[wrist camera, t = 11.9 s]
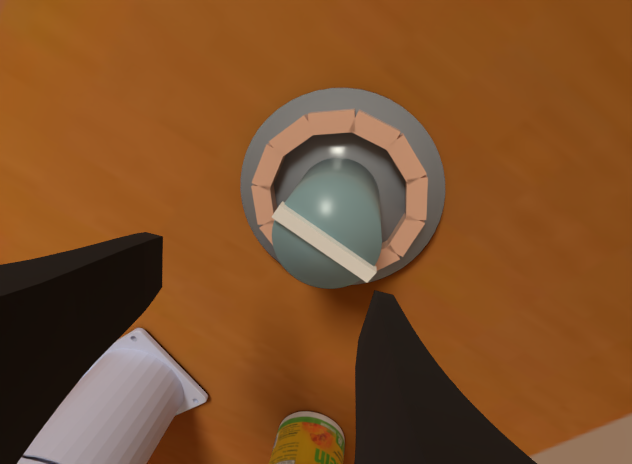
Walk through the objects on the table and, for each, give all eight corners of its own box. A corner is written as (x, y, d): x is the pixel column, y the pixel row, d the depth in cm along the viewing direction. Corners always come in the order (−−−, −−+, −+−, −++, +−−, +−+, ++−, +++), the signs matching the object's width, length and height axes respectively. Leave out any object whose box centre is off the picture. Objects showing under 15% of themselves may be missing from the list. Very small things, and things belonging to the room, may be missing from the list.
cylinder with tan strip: (398, 191, 18) (408, 237, 13) (348, 250, 20) (339, 312, 15) (326, 139, 18) (306, 165, 12) (282, 204, 19) (247, 251, 14)
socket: (316, 304, 23) (312, 320, 21) (207, 165, 20) (194, 172, 18) (478, 223, 19) (487, 235, 17) (372, 37, 16) (372, 33, 15)
